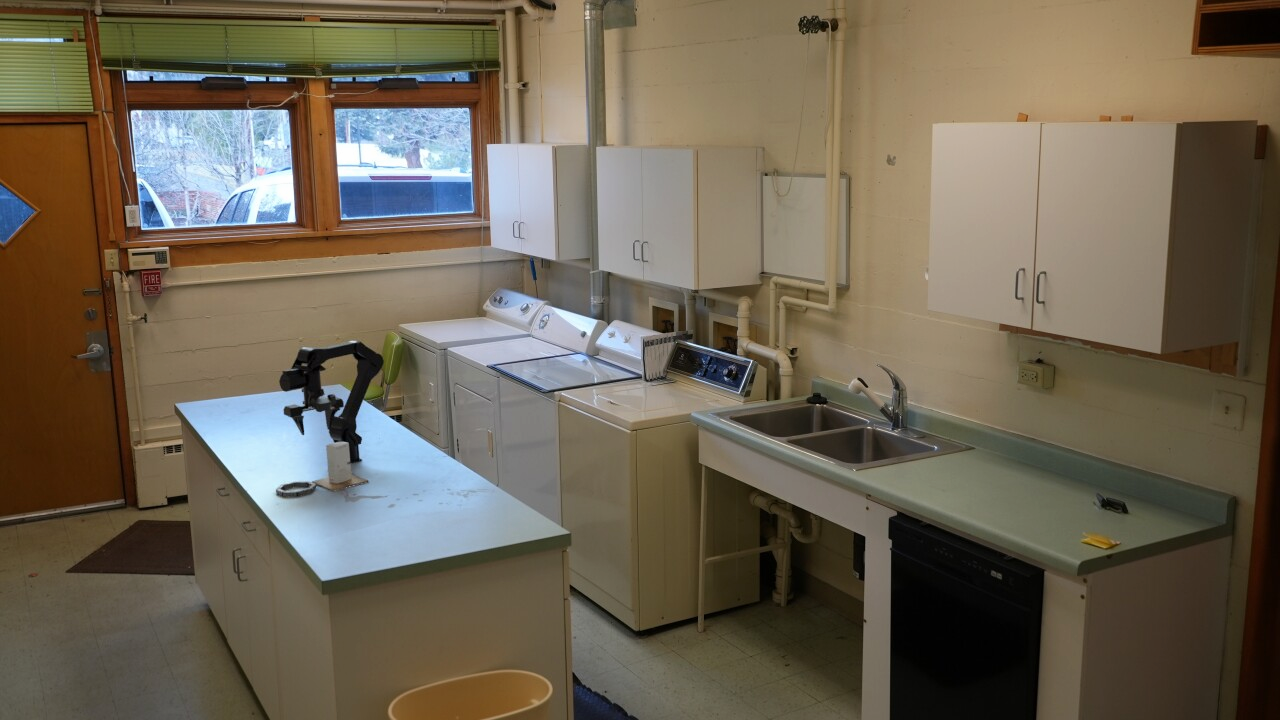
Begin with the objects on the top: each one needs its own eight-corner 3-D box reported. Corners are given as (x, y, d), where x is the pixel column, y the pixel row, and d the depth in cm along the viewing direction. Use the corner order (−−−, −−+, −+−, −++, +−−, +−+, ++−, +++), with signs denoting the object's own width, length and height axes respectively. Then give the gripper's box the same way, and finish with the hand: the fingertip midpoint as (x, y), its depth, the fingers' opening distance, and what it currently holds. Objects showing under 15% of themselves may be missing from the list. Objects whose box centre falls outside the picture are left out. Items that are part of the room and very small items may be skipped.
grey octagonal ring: (304, 483, 352) (304, 479, 352) (321, 490, 344) (321, 486, 344) (271, 491, 345) (270, 487, 345) (287, 499, 337) (287, 494, 337)
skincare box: (338, 484, 349) (335, 447, 347) (328, 482, 351) (325, 445, 349) (352, 478, 354) (349, 442, 352) (342, 477, 356) (339, 440, 354)
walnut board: (348, 474, 362) (348, 472, 361) (369, 482, 352) (368, 480, 352) (311, 483, 353) (311, 481, 353) (331, 491, 344) (331, 489, 343)
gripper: (296, 394, 349) (300, 442, 352) (350, 384, 362) (353, 430, 365) (280, 389, 357) (285, 436, 360) (333, 380, 370) (337, 425, 373)
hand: (316, 432), depth 364 cm, fingers open, 9 cm apart
